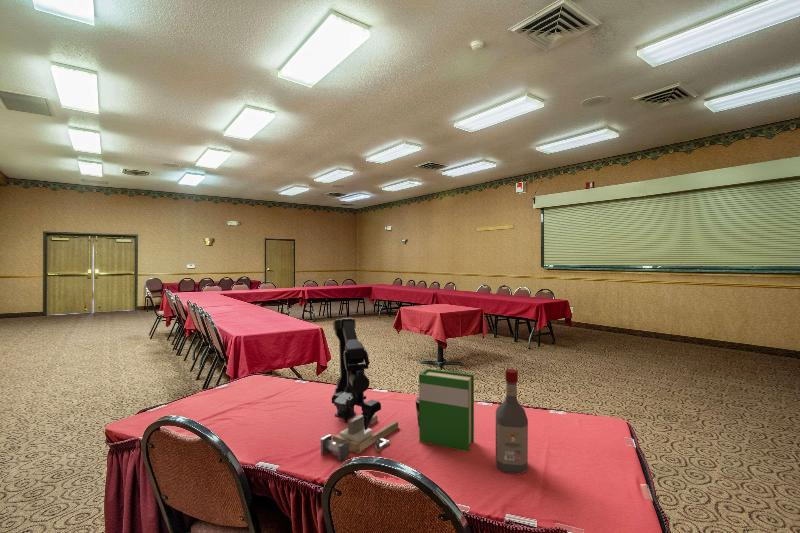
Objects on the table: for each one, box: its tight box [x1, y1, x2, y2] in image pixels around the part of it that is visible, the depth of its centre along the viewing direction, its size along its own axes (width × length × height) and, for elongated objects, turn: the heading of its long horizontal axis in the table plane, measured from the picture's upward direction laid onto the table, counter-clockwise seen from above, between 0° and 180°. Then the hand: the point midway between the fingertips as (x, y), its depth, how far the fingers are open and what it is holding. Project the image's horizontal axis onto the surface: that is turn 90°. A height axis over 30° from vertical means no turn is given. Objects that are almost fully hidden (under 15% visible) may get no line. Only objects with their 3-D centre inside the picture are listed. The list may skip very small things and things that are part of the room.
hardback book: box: [418, 368, 475, 453], centre depth 137 cm, size 18×7×24 cm, turn 65°
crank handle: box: [375, 437, 390, 452], centre depth 135 cm, size 6×4×3 cm
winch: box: [320, 433, 350, 462], centre depth 129 cm, size 9×4×5 cm, turn 54°
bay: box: [332, 413, 399, 454], centre depth 143 cm, size 11×23×3 cm, turn 144°
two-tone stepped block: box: [339, 414, 373, 443], centre depth 138 cm, size 8×8×8 cm
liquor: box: [495, 368, 529, 474], centre depth 122 cm, size 9×9×30 cm
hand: (356, 426), depth 138 cm, fingers open, 9 cm apart
